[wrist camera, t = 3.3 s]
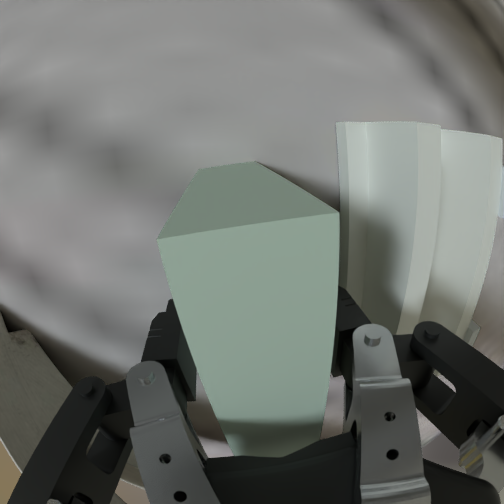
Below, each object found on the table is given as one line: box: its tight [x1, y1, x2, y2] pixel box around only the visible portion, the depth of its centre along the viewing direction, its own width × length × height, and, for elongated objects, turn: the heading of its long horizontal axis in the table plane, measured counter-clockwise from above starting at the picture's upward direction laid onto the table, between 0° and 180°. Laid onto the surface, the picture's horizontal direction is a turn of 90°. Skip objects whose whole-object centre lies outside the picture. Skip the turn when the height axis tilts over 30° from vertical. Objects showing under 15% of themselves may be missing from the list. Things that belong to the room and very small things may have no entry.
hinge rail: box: [336, 122, 504, 377], centre depth 12 cm, size 14×8×5 cm, turn 6°
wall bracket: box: [0, 312, 145, 504], centre depth 16 cm, size 22×4×30 cm
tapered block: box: [157, 161, 340, 457], centre depth 10 cm, size 11×3×8 cm, turn 6°
